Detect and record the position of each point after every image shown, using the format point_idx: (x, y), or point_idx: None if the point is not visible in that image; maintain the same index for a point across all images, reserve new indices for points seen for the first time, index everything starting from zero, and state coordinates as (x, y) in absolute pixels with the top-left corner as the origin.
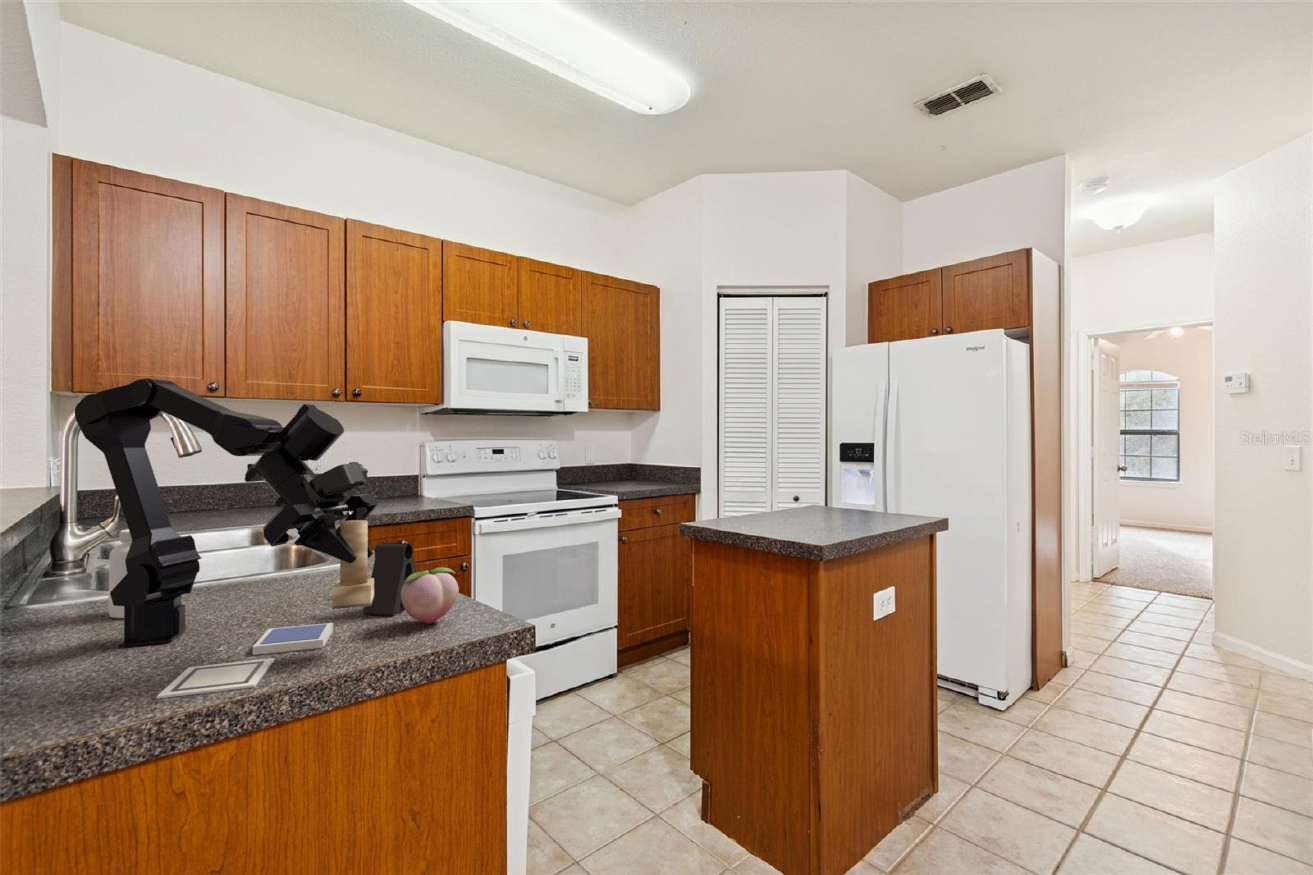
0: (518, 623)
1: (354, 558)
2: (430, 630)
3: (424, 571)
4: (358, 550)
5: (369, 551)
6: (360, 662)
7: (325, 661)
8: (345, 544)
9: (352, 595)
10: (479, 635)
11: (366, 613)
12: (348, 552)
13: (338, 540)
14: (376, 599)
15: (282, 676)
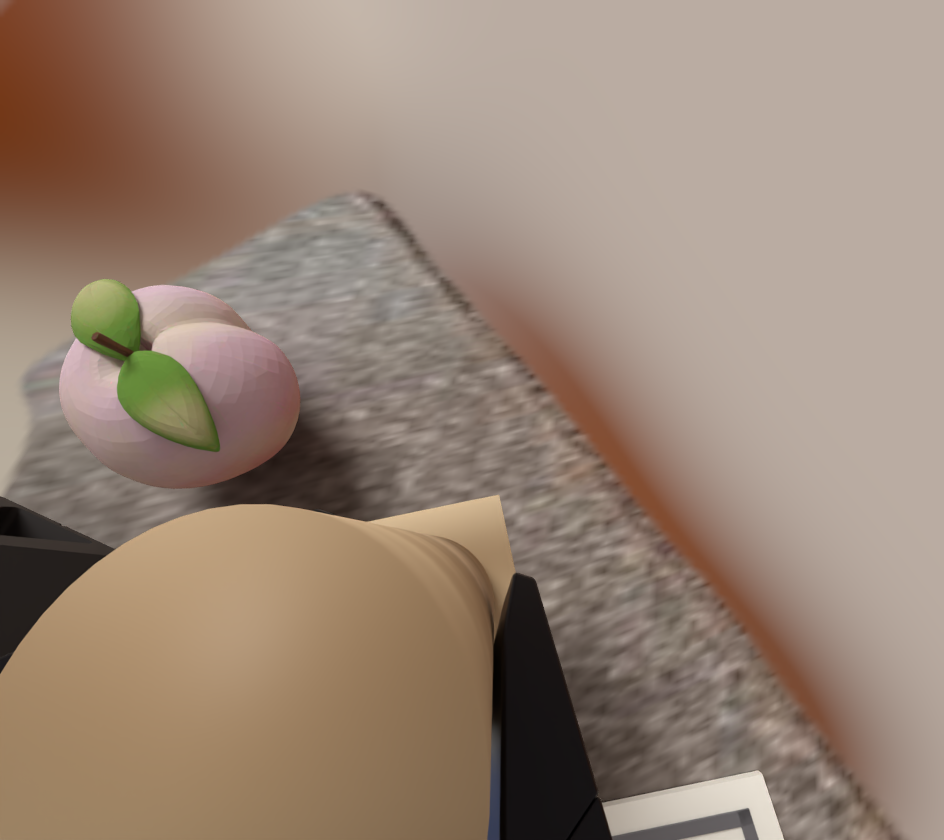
0: (318, 206)
1: (533, 582)
2: (320, 404)
3: (91, 381)
4: (470, 573)
5: None
6: (571, 522)
7: (552, 631)
8: (536, 703)
9: None
10: (397, 276)
11: None
12: (552, 639)
13: (602, 807)
14: (17, 638)
15: (670, 718)
